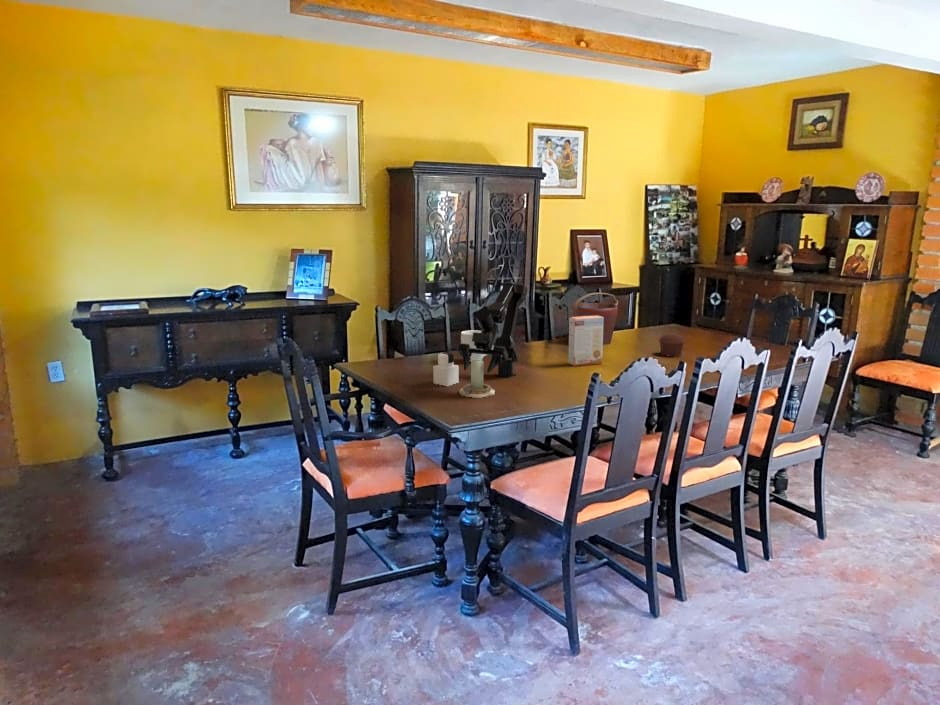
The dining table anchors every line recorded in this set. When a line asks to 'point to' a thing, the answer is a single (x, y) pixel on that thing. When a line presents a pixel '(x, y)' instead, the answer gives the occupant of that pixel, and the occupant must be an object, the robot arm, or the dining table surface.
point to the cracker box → (585, 340)
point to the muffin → (671, 344)
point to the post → (477, 374)
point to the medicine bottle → (446, 370)
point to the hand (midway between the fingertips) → (476, 371)
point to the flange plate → (477, 391)
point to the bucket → (599, 313)
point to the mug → (471, 343)
